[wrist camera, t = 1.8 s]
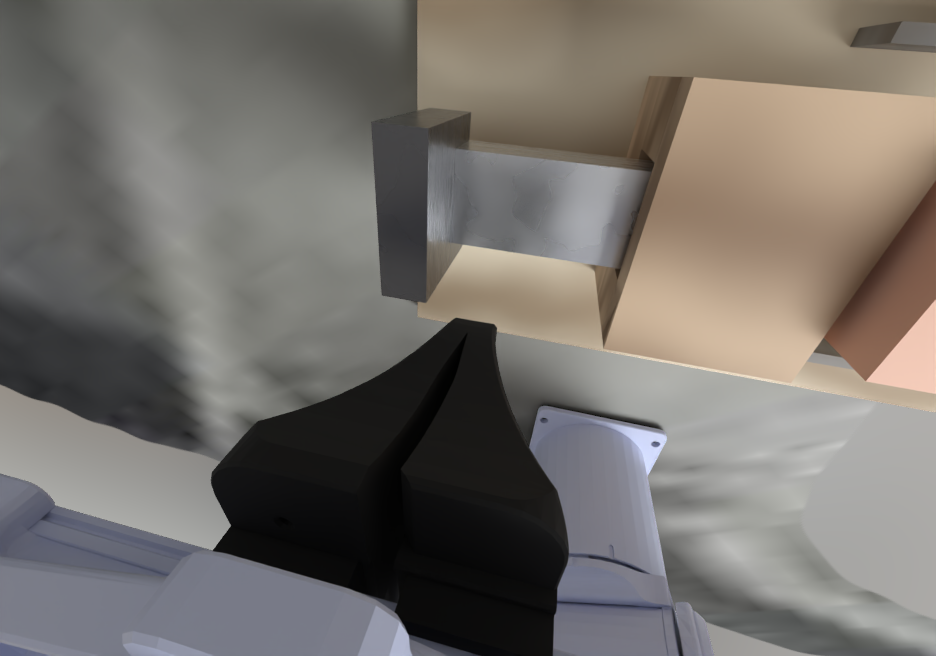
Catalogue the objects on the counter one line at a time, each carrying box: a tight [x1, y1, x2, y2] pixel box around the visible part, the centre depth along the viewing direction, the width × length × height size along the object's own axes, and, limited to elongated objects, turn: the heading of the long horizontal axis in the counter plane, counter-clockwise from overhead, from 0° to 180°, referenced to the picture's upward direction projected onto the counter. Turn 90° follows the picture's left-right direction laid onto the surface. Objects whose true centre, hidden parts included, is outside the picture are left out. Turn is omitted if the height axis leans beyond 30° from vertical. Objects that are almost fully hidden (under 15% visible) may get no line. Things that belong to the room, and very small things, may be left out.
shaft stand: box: [417, 0, 936, 412], centre depth 14 cm, size 17×29×8 cm, turn 86°
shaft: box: [371, 108, 655, 303], centre depth 12 cm, size 5×20×5 cm, turn 86°
